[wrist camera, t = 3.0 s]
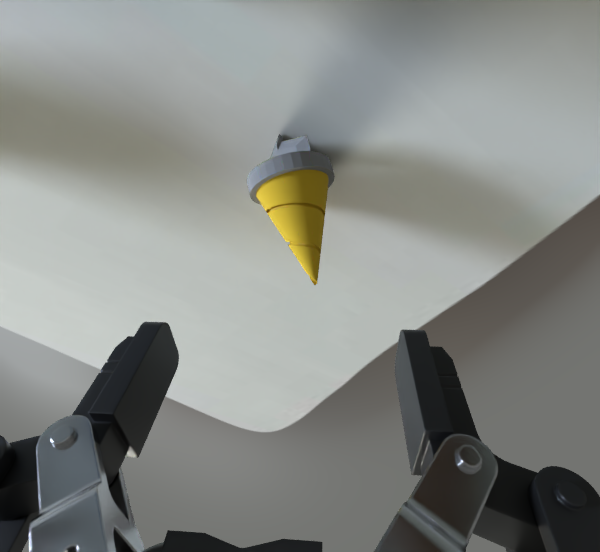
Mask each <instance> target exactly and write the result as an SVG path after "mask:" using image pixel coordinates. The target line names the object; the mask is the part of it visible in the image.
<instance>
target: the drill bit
mask: <svg viewBox="0 0 600 552" xmlns="http://www.w3.org/2000/svg"><path fill="white" fill-rule="evenodd" d="M334 177H335V176H334V173H333V169H332V165H331V161H330V159H329V158H328V157H327V156H326V155H324V154H322V153H319V152H314V151H311V150H310V146H309V142H308V138H307V135H306V136H302V137H298V138H294V139H290V140H285V141H284V140H283V138H282V137H281V135H280V134H279V136H278V139H277V142H276V145H275V147H274V150H273V153H272V156H271V158H270V159H268V160H266V161H264V162H262V163H261V164H259V165H257V166H256V167H255V168H254V169H253V170H252V171H251V172H250V173H249V175H248V178H247V184H248V189H249V193H250V197H251V199H252V200H253V201H254V202H256V203H258V204H261V205H262V206H263V207H264V209H265V211H266V212H267V213H268V215H269V217H270V218H271V220H272V221H273V223H274V224H275V226H276V227H277V229H278V230H279V232H280V233H281V235H282V236H283V238H284V239H285V241H286V242H290V244H289V245H288V246H289V247H290V249H291V250H292V252H293V253H294V255H295V256H296V258H297V259H298V261H299V262H300V264H301V265H302V267H303V268H304V270H305V271H306V273H307V274H308V275H309V276H310V279H311V280H312V282H313V283H314V285H316V284H317V279H318V270H319V261H320V253H321V244H322V235H323V226H324V216H325V208H326V200H327V191H328V188H329V187H330V186H331V184H332V183H333V181H334Z"/></svg>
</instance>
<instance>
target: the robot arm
mask: <svg viewBox="0 0 600 552" xmlns="http://www.w3.org/2000/svg"><path fill="white" fill-rule="evenodd" d="M107 361H108V362H107V363H105V365H104V366H103V368H102V369H101V373H99V374H98V376H97V377H96V379H95V380H94V382H93V384H92V385H91V387H90V388H89V390H88V391H87V393H86V394H85V396H84V397H83V399H82V400H81V402H80V404H79V405H78V407H77V408H76V410H75V411H74V413H73V414H72V415H71V416H67V417H65V418H63V419H60V420H58V421H56V422H55V423H53V424H52V425H51V426H50V427H48V428H47V429H46V430H45V432H44V433H43V434H42V435H41V436H36V437H33V438H28V439H24V440H20V441H16V442H12V443H8V442H7V441H6V440H5V438H4V437H2V436H0V552H22V550H23V548H24V546H25V544H26V542H27V540H28V538H29V552H322V542H315V541H302V540H288V539H281V540H277V541H273V542H269V543H264V544H260V545H256V546H252V547H247V548H238V547H236V546H234V545H231V544H229V543H227V542H224V541H222V540H219V539H217V538H215V537H212V536H210V535H208V534H206V533H196V532H183V531H169V530H168V532H167V534H166V538H165V541H164V542H163V543H159V544H157V545H154V546H152V547H149V548H148V549H146V550H145V548H144V545H143V542H142V540H141V537H140V535H139V533H138V531H137V528H136V525H135V522H134V518H133V514H132V510H131V506H130V501H129V497H128V493H127V489H126V485H125V481H124V477H123V473H122V470H121V468H120V467H121V465H122V462H123V460H124V458H125V457H139V455H140V453H141V450H142V448H143V446H144V443H145V441H146V439H147V437H148V434H149V432H150V430H151V427H152V425H153V422H154V420H155V418H156V416H157V413H158V411H159V409H160V406H161V404H162V402H163V400H164V397H165V395H166V393H167V390H168V388H169V386H170V384H171V381H172V379H173V377H174V374H175V372H176V370H177V367H178V361H179V354H178V350H177V347H176V344H175V341H174V338H173V335H172V332H171V329H170V327H169V325H168V323H165V322H144V323H143V324H142V325H141V326H140V328H139V329H138V331H137V333H136V334H135V336H134V337H130V336H128V337H127V338H126V339H125V340H124V341H122V342H121V343H120V344H119V345H118V346H117V347H115V349H114V351H113V352H112V354H111V355H110V357H109V358H108V360H107ZM395 377H396V384H397V390H398V396H399V402H400V408H401V414H402V420H403V426H404V432H405V438H406V444H407V450H408V456H409V462H410V468H411V474H412V475H422V477H421V479H420V480H419V482H418V484H417V486H416V487H415V489H414V491H413V492H412V494H411V496H410V497H409V499H408V501H407V502H405V503H404V504H403V505H402V506H401V508H400V509H399V511H398V512H397V514H396V516H395V517H394V519H393V521H392V522H391V524H390V525H389V527H388V529H387V531H386V532H385V534H384V536H383V537H382V539H381V541H380V542H379V544H378V546H377V547H376V549H375V551H374V552H466V547H467V544H468V542H469V539H470V537H471V535H472V533H473V534H476V535H478V536H480V537H482V538H485V539H487V540H490V541H492V542H494V543H496V544H499V545H501V546H503V547H506V551H507V552H600V497H599V495H598V494H597V492H596V491H595V490H594V488H593V487H592V486H591V485H590V484H589V483H588V482H587V481H586V480H584V479H583V478H582V477H581V476H579V475H578V474H576V473H574V472H572V471H570V470H568V469H565V468H562V467H557V466H550V467H546V468H543V469H542V470H540V471H539V473H537V472H534V471H531V470H528V469H525V468H522V467H520V466H517V465H514V464H511V463H509V462H506V461H504V460H502V459H501V458H499V457H497V456H496V455H494V454H493V453H492V452H491V450H490V449H489V448H488V447H487V446H486V445H485V444H484V443H482V441H481V440H480V438H479V436H478V434H477V431H476V428H475V425H474V422H473V419H472V417H471V413H470V410H469V407H468V404H467V402H466V399H465V396H464V393H463V390H462V389H461V384H460V381H459V378H458V377H457V372H456V369H455V366H454V363H453V360H452V359H451V357H450V356H449V355H448V354H447V353H446V352H445V350H444V349H443V348H442V347H430V346H429V342H428V338H427V335H426V332H425V331H424V330H401V332H400V336H399V342H398V348H397V353H396V359H395Z"/></svg>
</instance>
